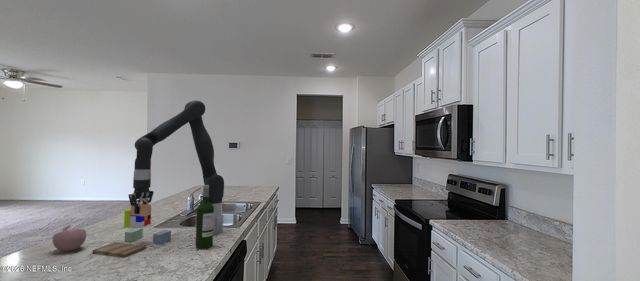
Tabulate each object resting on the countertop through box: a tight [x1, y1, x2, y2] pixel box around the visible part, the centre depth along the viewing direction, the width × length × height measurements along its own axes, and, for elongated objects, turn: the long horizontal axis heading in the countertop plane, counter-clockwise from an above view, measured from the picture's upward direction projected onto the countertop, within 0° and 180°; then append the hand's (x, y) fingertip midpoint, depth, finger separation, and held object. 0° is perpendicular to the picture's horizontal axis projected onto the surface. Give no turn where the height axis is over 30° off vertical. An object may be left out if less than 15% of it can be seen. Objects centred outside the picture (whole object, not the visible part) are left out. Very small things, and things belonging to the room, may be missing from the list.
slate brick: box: [152, 229, 172, 246], centre depth 159 cm, size 8×4×5 cm, turn 167°
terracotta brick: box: [130, 202, 152, 216], centre depth 154 cm, size 8×4×5 cm, turn 77°
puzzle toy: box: [123, 207, 152, 229], centre depth 188 cm, size 10×10×10 cm
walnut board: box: [92, 242, 147, 259], centre depth 144 cm, size 17×12×2 cm
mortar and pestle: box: [52, 224, 87, 252], centre depth 143 cm, size 12×12×12 cm
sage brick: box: [124, 227, 144, 243], centre depth 161 cm, size 8×4×5 cm, turn 174°
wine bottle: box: [195, 184, 214, 250], centre depth 154 cm, size 8×8×30 cm
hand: (140, 212), depth 154 cm, fingers closed on terracotta brick, 4 cm apart
